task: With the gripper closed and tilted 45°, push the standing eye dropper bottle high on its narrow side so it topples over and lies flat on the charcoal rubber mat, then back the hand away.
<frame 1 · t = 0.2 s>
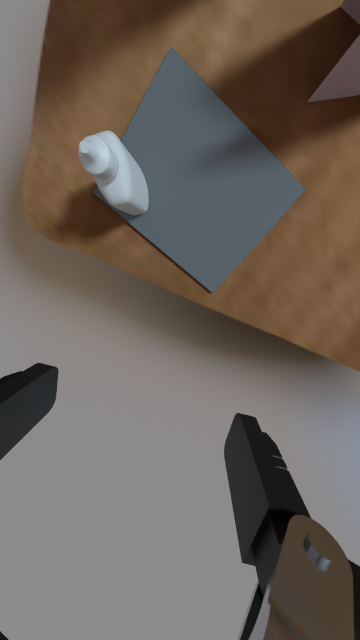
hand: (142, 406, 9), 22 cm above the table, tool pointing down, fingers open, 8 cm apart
eye dropper bottle: (134, 190, 25), resting on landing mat
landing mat: (195, 192, 25), on the table
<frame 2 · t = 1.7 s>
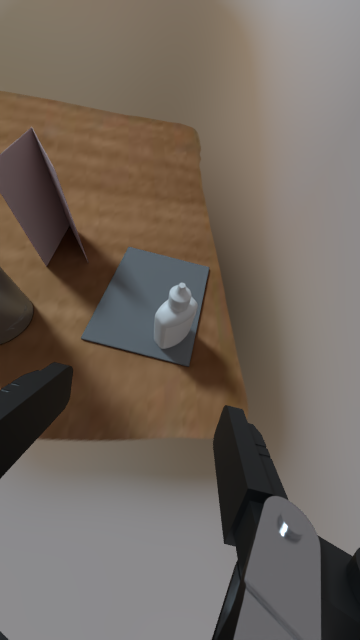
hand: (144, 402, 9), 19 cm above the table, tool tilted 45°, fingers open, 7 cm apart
eye dropper bottle: (171, 335, 31), resting on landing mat
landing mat: (154, 298, 34), on the table
greeting card: (74, 247, 38), on the table
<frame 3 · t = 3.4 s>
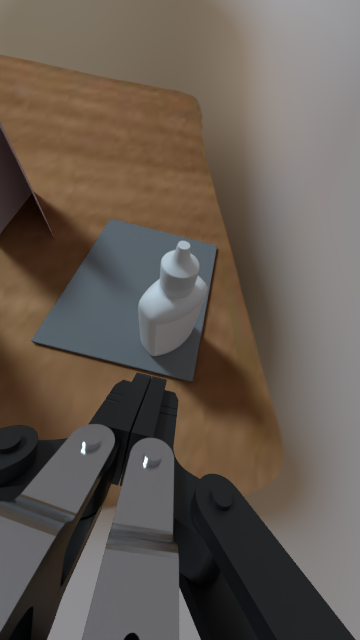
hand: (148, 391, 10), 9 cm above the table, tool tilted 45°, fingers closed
eye dropper bottle: (167, 336, 22), resting on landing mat
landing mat: (143, 285, 25), on the table
greeting card: (37, 218, 29), on the table
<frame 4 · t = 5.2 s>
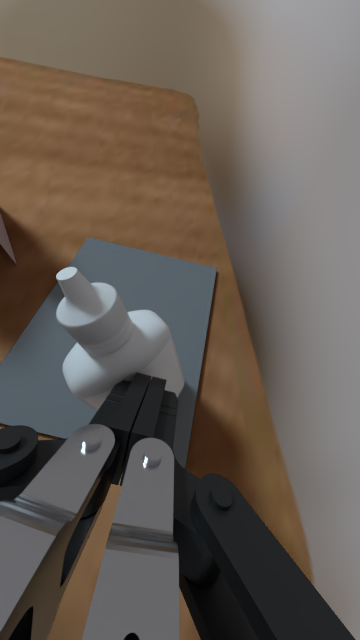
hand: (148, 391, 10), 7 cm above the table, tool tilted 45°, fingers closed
eye dropper bottle: (151, 397, 16), point 1 cm above the table, touching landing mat
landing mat: (124, 324, 20), on the table
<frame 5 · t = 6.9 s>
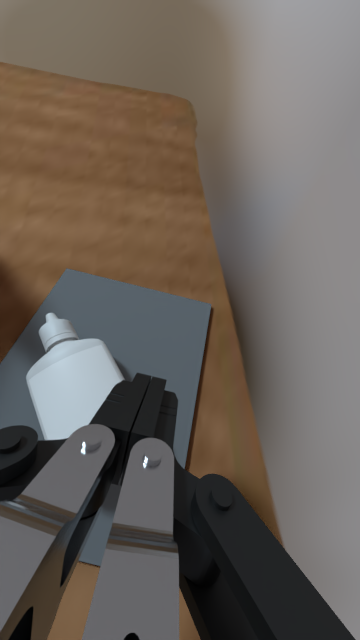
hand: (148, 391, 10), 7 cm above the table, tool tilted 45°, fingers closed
eye dropper bottle: (113, 460, 13), point 2 cm above the table, touching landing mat
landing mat: (102, 378, 17), on the table
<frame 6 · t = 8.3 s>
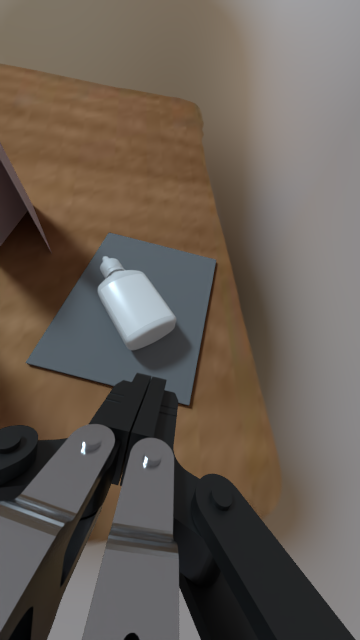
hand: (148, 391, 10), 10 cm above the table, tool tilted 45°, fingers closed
eye dropper bottle: (155, 337, 20), point 2 cm above the table, touching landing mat
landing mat: (140, 302, 25), on the table
greeting card: (35, 232, 28), on the table
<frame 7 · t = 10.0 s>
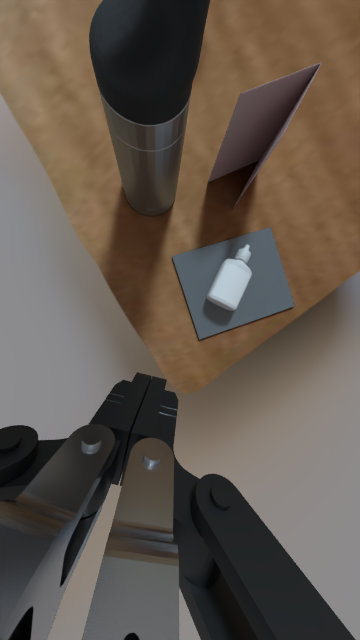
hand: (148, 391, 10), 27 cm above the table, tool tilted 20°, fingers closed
eye dropper bottle: (219, 305, 36), point 2 cm above the table, touching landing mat
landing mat: (234, 282, 39), on the table
greeting card: (240, 185, 39), on the table
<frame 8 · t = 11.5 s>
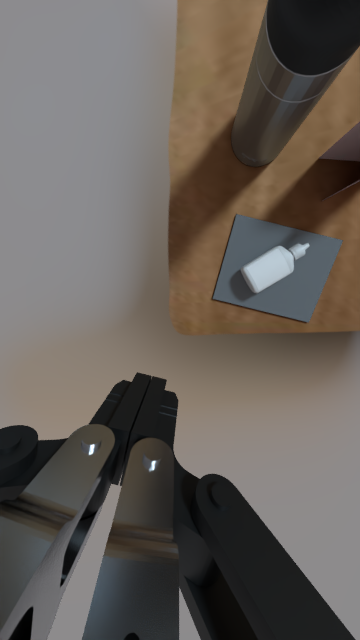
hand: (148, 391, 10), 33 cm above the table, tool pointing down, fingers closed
eye dropper bottle: (246, 282, 38), point 2 cm above the table, touching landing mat
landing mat: (273, 271, 40), on the table
greeting card: (347, 180, 35), on the table
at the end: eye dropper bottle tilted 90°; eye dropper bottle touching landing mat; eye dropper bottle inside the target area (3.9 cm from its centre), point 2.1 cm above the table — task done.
